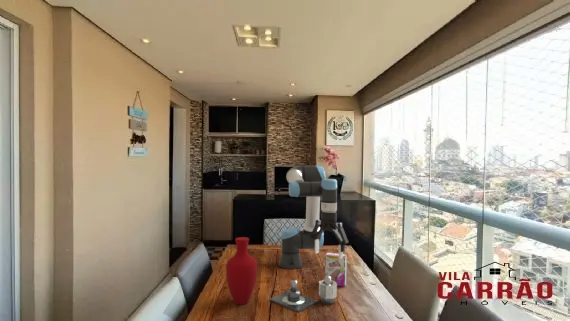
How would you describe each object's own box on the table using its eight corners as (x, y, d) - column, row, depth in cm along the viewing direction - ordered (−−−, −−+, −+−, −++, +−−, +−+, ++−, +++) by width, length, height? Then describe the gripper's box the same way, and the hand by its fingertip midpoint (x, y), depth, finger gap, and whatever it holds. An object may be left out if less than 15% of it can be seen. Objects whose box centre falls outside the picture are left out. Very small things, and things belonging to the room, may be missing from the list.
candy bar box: (324, 284, 175) (324, 254, 175) (326, 281, 180) (326, 252, 180) (345, 287, 171) (345, 256, 171) (346, 284, 176) (346, 254, 176)
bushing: (315, 295, 153) (316, 282, 153) (325, 290, 159) (325, 278, 159) (330, 300, 148) (330, 287, 148) (339, 295, 154) (339, 282, 154)
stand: (318, 301, 153) (319, 276, 154) (325, 297, 158) (326, 273, 158) (329, 305, 149) (329, 279, 150) (336, 301, 154) (336, 276, 154)
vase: (229, 311, 143) (230, 243, 143) (222, 298, 156) (223, 236, 157) (261, 305, 149) (262, 240, 149) (251, 293, 162) (252, 233, 162)
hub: (269, 300, 154) (270, 279, 154) (288, 292, 165) (289, 272, 165) (299, 312, 142) (299, 289, 142) (317, 302, 153) (317, 281, 153)
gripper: (303, 209, 160) (303, 252, 159) (347, 215, 143) (347, 262, 143) (312, 207, 165) (312, 249, 165) (356, 213, 149) (355, 259, 149)
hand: (328, 255), depth 154 cm, fingers open, 13 cm apart
